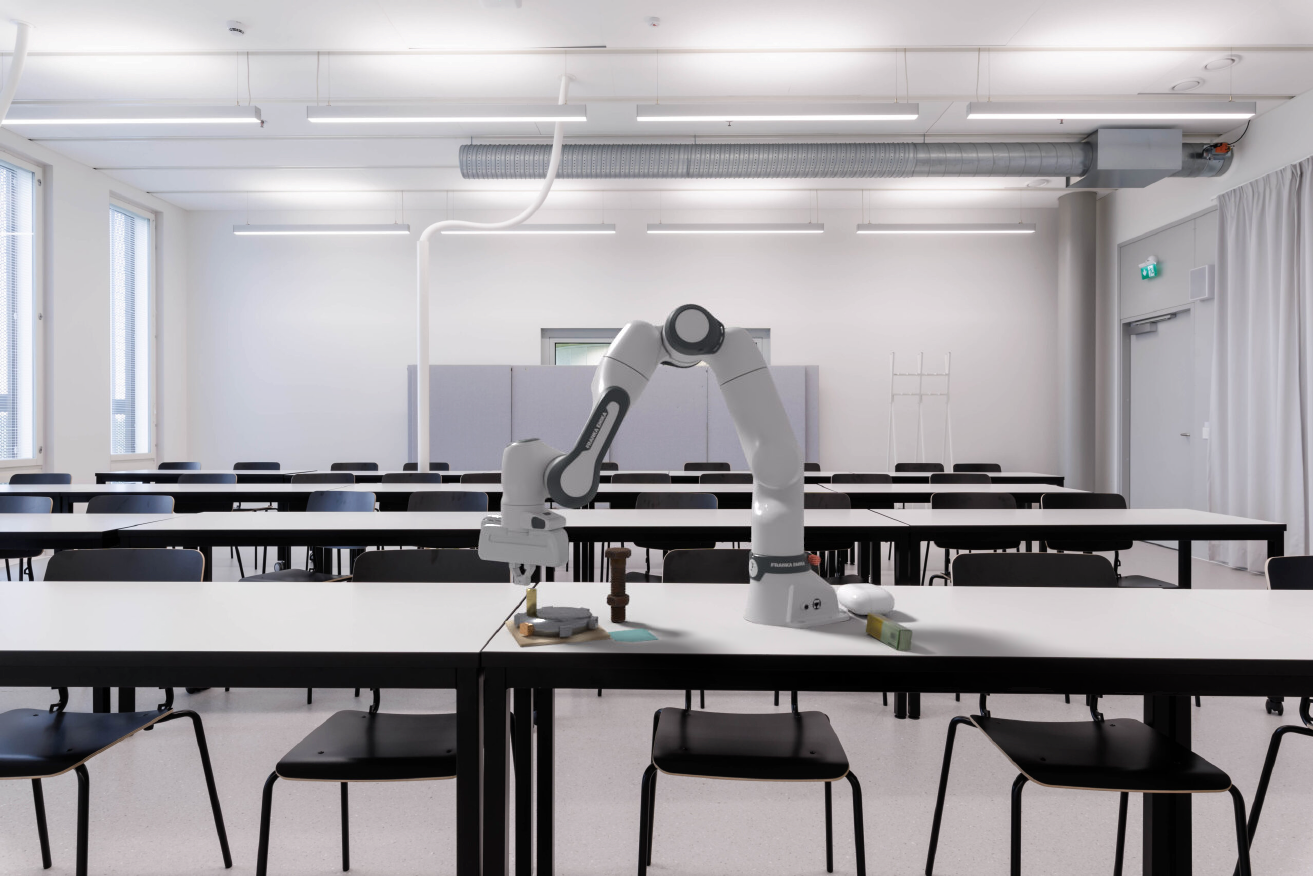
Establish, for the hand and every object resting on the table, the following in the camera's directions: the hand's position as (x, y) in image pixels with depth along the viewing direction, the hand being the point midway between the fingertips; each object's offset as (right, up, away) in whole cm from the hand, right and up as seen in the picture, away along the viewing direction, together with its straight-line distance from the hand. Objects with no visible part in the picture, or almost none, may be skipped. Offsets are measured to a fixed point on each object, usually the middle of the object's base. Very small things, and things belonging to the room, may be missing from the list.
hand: (522, 584), depth 151 cm
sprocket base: (+8, -8, -7) cm, 13 cm away
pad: (+23, -8, -10) cm, 26 cm away
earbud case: (+73, -8, +11) cm, 75 cm away
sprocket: (+8, -7, -7) cm, 12 cm away
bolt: (+20, -8, +2) cm, 21 cm away
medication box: (+71, -9, -13) cm, 73 cm away
